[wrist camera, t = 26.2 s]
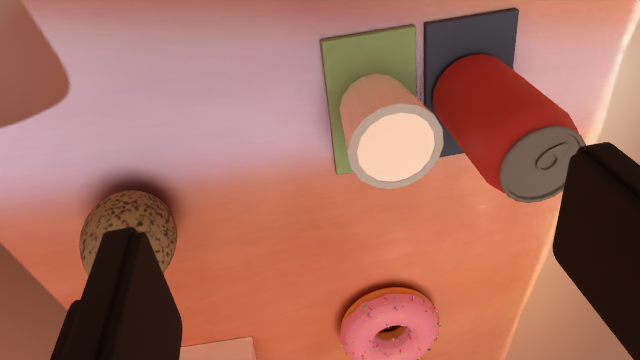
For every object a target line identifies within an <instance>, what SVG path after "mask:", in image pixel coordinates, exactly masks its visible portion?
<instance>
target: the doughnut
mask: <svg viewBox="0 0 640 360" xmlns="http://www.w3.org/2000/svg"><path fill="white" fill-rule="evenodd" d="M439 324H440V323H439V315H438V310H437V309H436V308H435V307H434V306H433V305H432V304H431V302H430V301H429V300H428V299H427V298H426V297H425V296H424V295H422V294H421V293H419V292H417V291H415V290H412V289H408V288H401V287H391V288H384V289H380V290H376V291H373V292H371V293H369V294H367V295H365V296H363V297H362V298H360V299H359V300H357V301H356V302H355V303H354V304H353V305H352V306H351V307H350V308H349V309H348V311H347V312H346V314H345V316H344V318H343V320H342V324H341V331H340V339H341V343H342V345H341V346H343V348H344V349H345V351H346V355H347V354H348V355H349V356H350V357H351V358H352V359H353V360H418V359H420V358H421V356H423V355H424V354H425V353H426V352H427V351H429V350H431V349H430V348H431V347H432V346H433V344H434V342H435V341H436V339H437V336H438V334H439V327H440V326H441V325H440V326H439ZM396 325H399V326H400V327H399V328H397V329H395V330H393V331H390V332H384V333H379V331H381V330H383V329H384V328H387V329H389V327H390V326H396ZM421 359H422V358H421Z"/></svg>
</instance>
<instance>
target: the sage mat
mask: <svg viewBox="0 0 640 360" xmlns="http://www.w3.org/2000/svg"><path fill="white" fill-rule="evenodd" d="M320 41H321V50H322V58H323V67H324V75H325V84H326V92H327V100H328V109H329V117H330V126H331V134H332V143H333V151H334V159H335V168H336V173H337V175H342V174H347V173H353V172H354V171H353V170H352V169H351V167H350V162H349V156H348V151H347V146H346V141H345V136H344V130H343V125H342V120H341V115H340V109H339V108H340V104H341V100H342V96H343V94H344V93H345V92H346V90H347V89H348V87H349V86H350V85H351V84H352V83H354V82H355V81H357V80H358V79H360V78H361V77H364V76H368V75H372V74H382V75H389V76H391V77H392V78H394V79H395V80H397V81H399V82H400V83H401V84H402V85H403V86H404V87H405V88H406V89H407V90H408V91H410V92H411V93H412V94H413V95H414V96H415V97H416V27H415V26H414V25H408V26H402V27H396V28H390V29H383V30H377V31H371V32H365V33H359V34H353V35H347V36H340V37H334V38H328V39H322V40H320Z"/></svg>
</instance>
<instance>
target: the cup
mask: <svg viewBox="0 0 640 360" xmlns="http://www.w3.org/2000/svg"><path fill="white" fill-rule="evenodd" d="M339 109H340V115H341V120H342V125H343V130H344V136H345V141H346V146H347V151H348V156H349V162H350V167H351V169H352V170H353V171H354V173H355V174H356V175H357V177H358V178H359V179H360V180H361V181H363V182H365V183H367V184H369V185H371V186H373V187H375V188H385V189H394V188H399V187H403V186H407V185H410V184H412V183H414V182H415V181H417V180H418V179H420V178H422V177H423V176H425V175H426V174H427V173H428V172H429V171H430V169H431V168H432V167H433V166H434V165H435V164H436V163H437V161H438V159H439V156H440V153H441V151H442V148H443V129H442V127H441V125H440V124H439V122H438V120H437V119H436V117H435V115H434V114H433V113H432V112H431V111H430V110H429V109H428V108H427V107H425V106H424V105H423V104H422V103H421V102H420V101H419V100H418V99H417V98H416V97H415V96H414V95H413V94H412V93H411V92H410V91H408V90H407V89H406V88H405V87H404V86H403V85H402V84H401V83H400V82H399V81H397V80H395V79H394V78H392V77H391V76H389V75H382V74H372V75H368V76H364V77H361V78H360V79H358V80H357V81H355V82H354V83H352V84H351V85H350V86H349V87H348V89H347V90H346V92H345V93H344V94H343V96H342V100H341V104H340V108H339Z"/></svg>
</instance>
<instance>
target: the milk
mask: <svg viewBox="0 0 640 360" xmlns="http://www.w3.org/2000/svg"><path fill="white" fill-rule="evenodd" d="M179 360H257V359H256V354H255V349H254V344H253V339H252V337H246V338H240V339H233V340H226V341H220V342H213V343H206V344H200V345H193V346H186V347H181V349H180V358H179Z"/></svg>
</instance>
